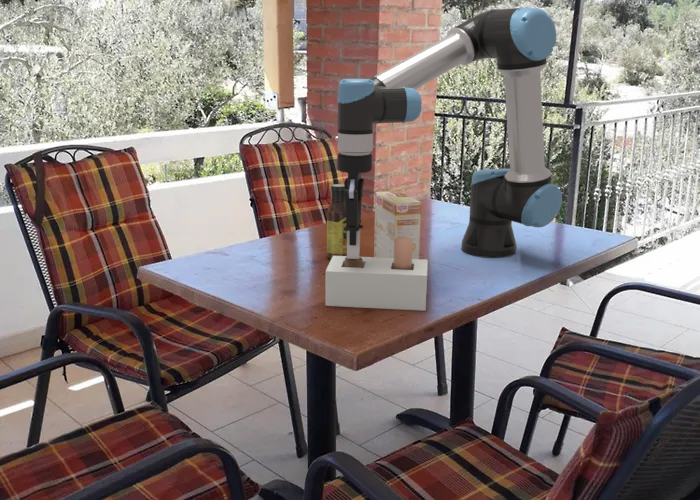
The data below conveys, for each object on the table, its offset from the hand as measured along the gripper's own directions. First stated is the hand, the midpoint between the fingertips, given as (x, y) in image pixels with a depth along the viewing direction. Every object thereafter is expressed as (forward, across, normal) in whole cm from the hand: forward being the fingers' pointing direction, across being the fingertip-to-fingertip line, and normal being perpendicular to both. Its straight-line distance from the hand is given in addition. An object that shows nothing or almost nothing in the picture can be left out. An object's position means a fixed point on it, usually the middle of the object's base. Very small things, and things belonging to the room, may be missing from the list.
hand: (353, 257), depth 159 cm
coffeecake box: (+10, -21, +9) cm, 25 cm away
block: (+10, 0, +6) cm, 11 cm away
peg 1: (+9, 0, 0) cm, 9 cm away
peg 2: (+4, 0, +11) cm, 12 cm away
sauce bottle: (+10, -31, -7) cm, 33 cm away
